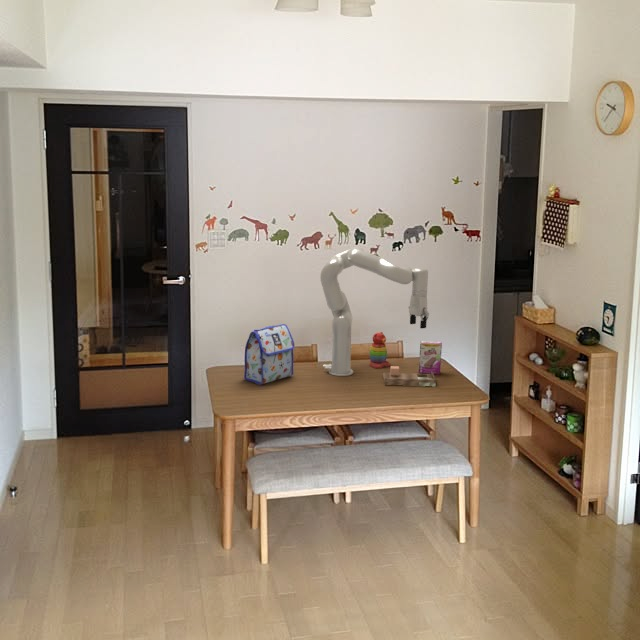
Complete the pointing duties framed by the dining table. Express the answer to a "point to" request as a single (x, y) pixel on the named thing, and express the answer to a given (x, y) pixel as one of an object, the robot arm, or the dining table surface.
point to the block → (394, 370)
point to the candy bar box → (430, 357)
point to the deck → (410, 379)
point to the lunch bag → (269, 354)
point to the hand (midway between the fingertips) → (417, 326)
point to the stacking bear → (378, 351)
